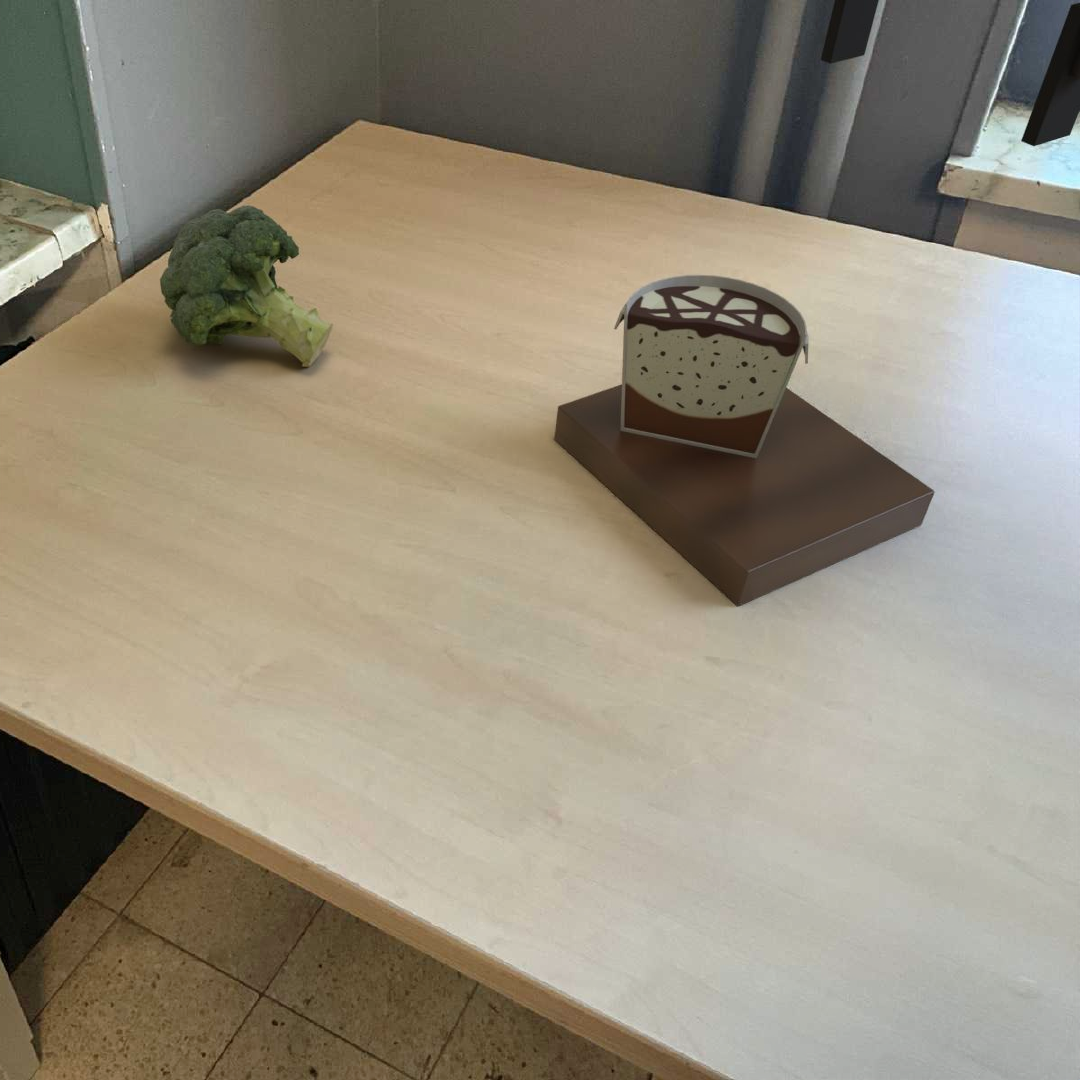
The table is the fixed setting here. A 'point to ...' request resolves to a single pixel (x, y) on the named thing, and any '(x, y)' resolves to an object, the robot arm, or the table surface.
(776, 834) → the table surface
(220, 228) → the vegetable
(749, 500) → the board
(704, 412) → the food container
